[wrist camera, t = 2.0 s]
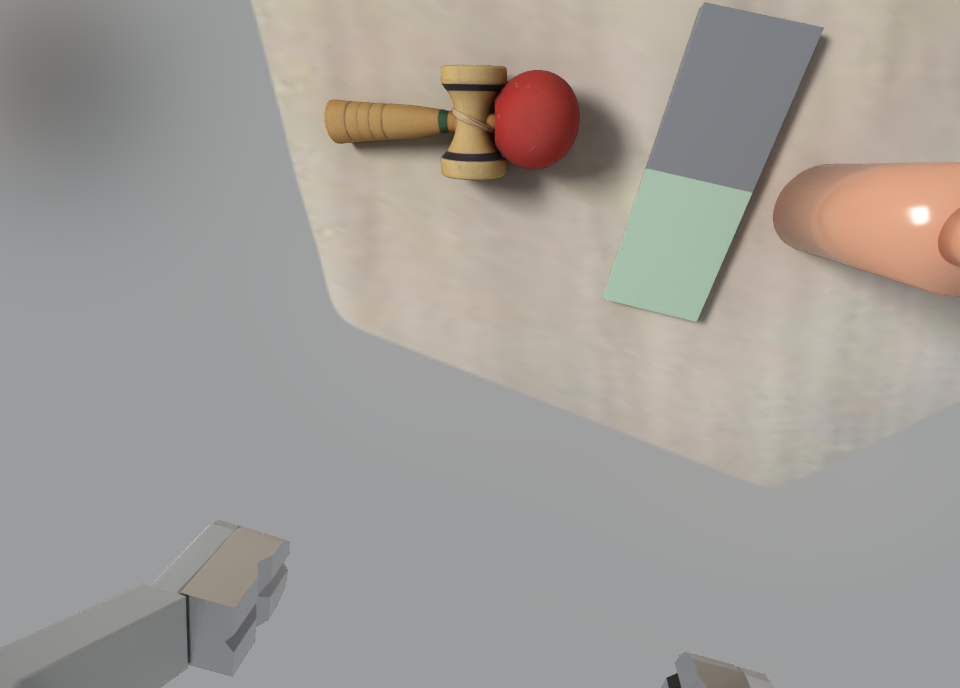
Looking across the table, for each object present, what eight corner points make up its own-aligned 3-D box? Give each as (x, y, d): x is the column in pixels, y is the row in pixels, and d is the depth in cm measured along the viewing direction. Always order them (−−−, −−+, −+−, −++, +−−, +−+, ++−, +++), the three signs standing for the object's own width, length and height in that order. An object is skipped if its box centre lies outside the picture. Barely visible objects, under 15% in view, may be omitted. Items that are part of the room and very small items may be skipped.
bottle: (797, 155, 31) (996, 145, 17) (883, 175, 31) (1154, 180, 17) (758, 239, 34) (907, 289, 20) (838, 258, 33) (1045, 322, 20)
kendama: (359, 186, 38) (576, 191, 33) (312, 172, 32) (569, 175, 27) (359, 86, 36) (587, 77, 32) (310, 51, 30) (582, 33, 26)
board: (699, 7, 29) (704, 2, 28) (814, 32, 29) (823, 27, 28) (602, 296, 37) (604, 299, 36) (692, 318, 36) (696, 321, 35)
